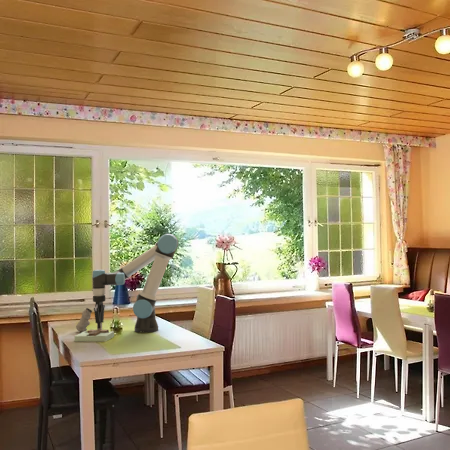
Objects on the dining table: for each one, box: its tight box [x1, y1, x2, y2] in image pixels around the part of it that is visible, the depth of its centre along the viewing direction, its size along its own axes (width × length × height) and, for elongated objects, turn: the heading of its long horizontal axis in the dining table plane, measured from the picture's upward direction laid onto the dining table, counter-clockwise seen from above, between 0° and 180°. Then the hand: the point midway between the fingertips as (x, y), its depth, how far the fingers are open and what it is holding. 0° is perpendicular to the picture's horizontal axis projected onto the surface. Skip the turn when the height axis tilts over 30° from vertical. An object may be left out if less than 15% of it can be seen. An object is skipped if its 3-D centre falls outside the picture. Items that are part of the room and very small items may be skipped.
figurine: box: [75, 307, 93, 333], centre depth 340 cm, size 9×10×15 cm
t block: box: [87, 329, 110, 336], centre depth 318 cm, size 12×12×4 cm
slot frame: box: [74, 330, 115, 342], centre depth 316 cm, size 19×14×3 cm
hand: (99, 333), depth 324 cm, fingers closed
